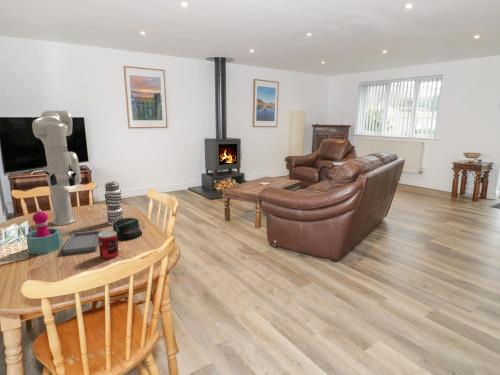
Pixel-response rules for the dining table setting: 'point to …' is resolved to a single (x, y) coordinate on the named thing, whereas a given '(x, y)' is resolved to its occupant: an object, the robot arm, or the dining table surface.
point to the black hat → (127, 229)
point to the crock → (44, 242)
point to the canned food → (108, 244)
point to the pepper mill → (41, 223)
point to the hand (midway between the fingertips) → (63, 185)
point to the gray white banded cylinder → (113, 202)
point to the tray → (81, 243)
